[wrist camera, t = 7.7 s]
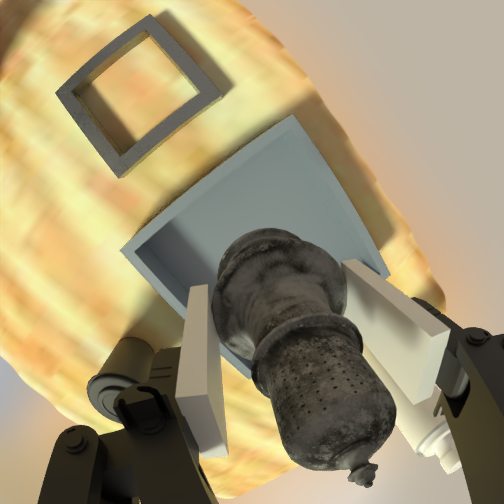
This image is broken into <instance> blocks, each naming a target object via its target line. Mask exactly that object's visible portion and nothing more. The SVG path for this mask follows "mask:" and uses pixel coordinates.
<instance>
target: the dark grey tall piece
mask: <svg viewBox="0 0 504 504" xmlns="http://www.w3.org/2000/svg"><path fill="white" fill-rule="evenodd" d="M217 281H218V282H217V284H216V286H215V288H214V293H213V299H212V305H211V309H212V314H213V319H214V324H215V328H216V330H217V333H218V335H219V337H220V339H221V340H222V341H223V342H224V343H225V344H226V345H227V346H228V347H229V349H230V350H232V351H233V352H235V353H237V354H238V355H240V356H241V357H243V358H245V359H248V360H251V361H252V362H251V377H252V380H253V382H254V384H255V386H256V388H257V389H258V390H259V391H260V392H261V393H262V394H263V395H264V396H266V397H268V398H270V399H271V403H272V407H273V411H274V414H275V418H276V422H277V425H278V429H279V433H280V436H281V440H282V444H283V446H284V448H285V450H286V452H287V453H288V455H289V457H290V458H291V460H293V461H294V462H296V463H297V464H299V465H301V466H303V467H305V468H307V469H310V470H315V471H334V470H340V469H341V470H346V469H350V471H351V474H350V475H349V476H348V481H350V482H355V483H356V484H357V485H360V486H363V485H364V487H365V488H369V487H371V486H372V485H373V482H372V481H373V480H374V479H375V471H376V470H377V469H378V465H377V464H371V463H369V461H368V459H370V458H371V457H372V455H373V454H374V453H375V452H376V451H377V450H379V448H381V446H382V445H383V444H384V442H385V441H386V440H387V438H388V437H389V436H390V434H391V433H392V430H393V428H394V426H395V421H396V415H397V408H396V405H395V402H394V399H393V397H392V395H391V393H390V392H389V390H388V389H387V388H386V386H385V385H384V383H383V382H382V381H381V379H380V378H379V377H378V375H377V374H376V373H375V371H374V370H373V369H372V367H371V366H370V365H369V363H368V362H367V361H366V359H365V358H364V357H363V355H362V354H363V348H364V346H363V339H362V335H361V333H360V331H359V330H358V328H357V326H356V325H355V324H354V323H352V322H351V321H350V320H349V319H348V318H346V317H344V316H343V315H344V313H345V310H346V307H347V294H348V290H347V285H346V280H345V275H344V274H343V272H342V270H341V268H340V266H339V264H338V262H337V261H336V260H335V259H334V258H333V257H332V256H331V255H330V254H329V253H328V252H327V251H326V250H324V249H322V248H320V247H318V246H316V245H314V244H312V243H310V242H308V241H303V240H301V239H300V238H299V237H298V236H297V235H295V234H293V233H291V232H289V231H286V230H282V229H277V228H262V229H257V230H254V231H251V232H248V233H246V234H244V235H243V236H241V237H240V238H238V239H237V240H235V241H234V242H233V243H232V244H231V245H230V247H229V248H228V249H227V250H226V251H225V253H224V255H223V257H222V259H221V261H220V263H219V268H218V273H217Z"/></svg>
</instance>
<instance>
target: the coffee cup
mask: <svg viewBox="0 0 504 504" xmlns="http://www.w3.org/2000/svg"><path fill="white" fill-rule="evenodd" d="M154 357H155V354H154V351H153V349H152V348H151V347H150V345H149V344H148V343H146V342H145V341H143V340H141V339H139V338H134V337H127V338H124V339H122V340H120V341H119V342H118V344H117V345H116V347H115V348H114V350H113V351H112V353H111V354H110V356H109V357H108V359H107V360H106V362H105V363H104V365H103V367H102V368H101V370H100V371H99V373H98V374H97V375H95V376H93V377H92V378H91V379H90V380H89V381H88V385H87V393H88V397H89V400H90V402H91V404H92V405H93V407H94V408H95V409H96V410H97V411H98V412H99V413H100V414H102V415H103V416H105V417H106V418H108V419H110V420H112V421H115V422H117V423H121V424H122V422H121V421H120V419H119V417H118V416H117V414H116V412H115V411H114V409H113V403H114V399H115V398H116V397H117V395H118V394H119V393H120V392H121V391H123V390H124V389H125V388H127V387H129V386H132V385H134V384H139V383H147V380H148V379H149V378H148V376H149V372H150V371H151V370H150V368H151V364H152V360H153V358H154Z"/></svg>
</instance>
